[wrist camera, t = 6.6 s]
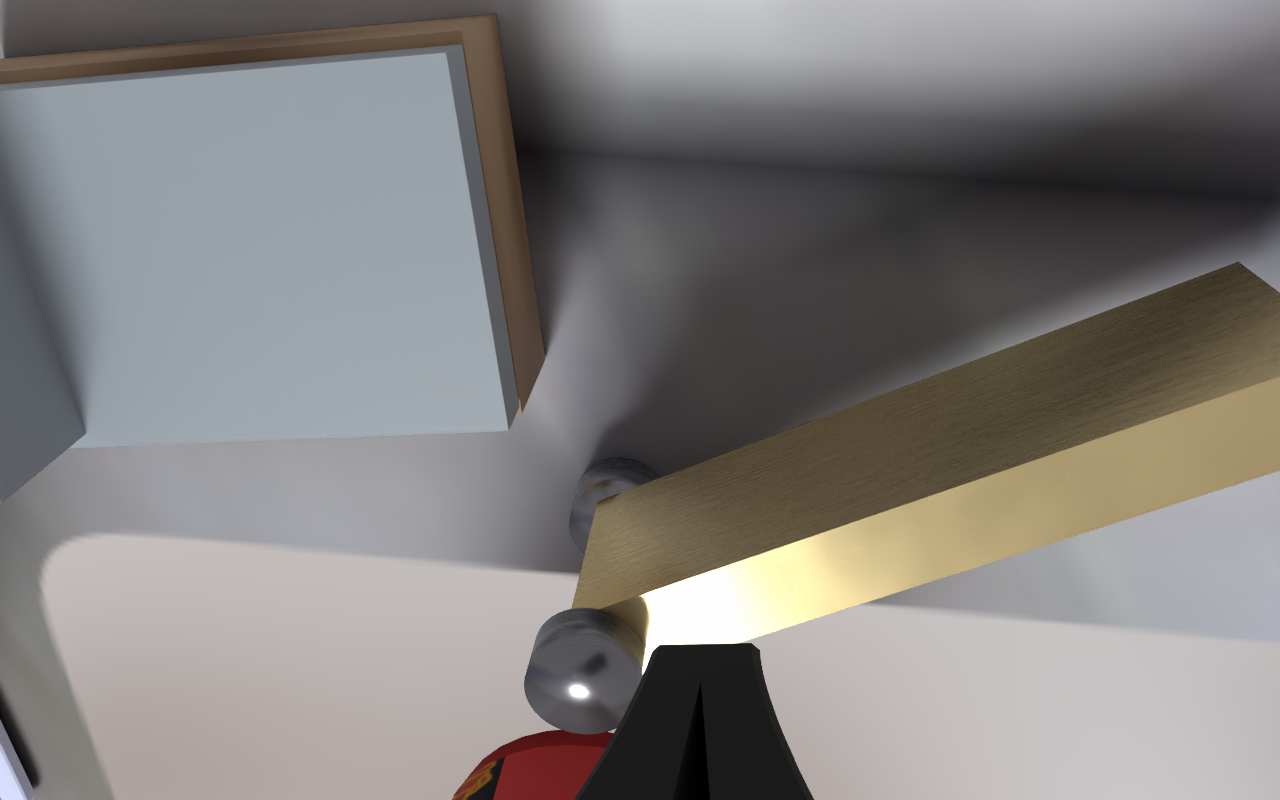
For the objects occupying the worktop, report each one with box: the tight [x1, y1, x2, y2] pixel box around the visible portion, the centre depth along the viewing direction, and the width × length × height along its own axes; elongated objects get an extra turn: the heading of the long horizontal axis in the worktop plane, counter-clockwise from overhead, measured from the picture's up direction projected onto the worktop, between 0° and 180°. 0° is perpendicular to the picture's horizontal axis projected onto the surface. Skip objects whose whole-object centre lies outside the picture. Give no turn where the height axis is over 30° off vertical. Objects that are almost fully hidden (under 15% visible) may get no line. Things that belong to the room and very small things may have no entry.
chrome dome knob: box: [569, 458, 658, 554], centre depth 23 cm, size 2×2×1 cm
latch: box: [524, 262, 1280, 734], centre depth 18 cm, size 2×14×5 cm, turn 116°
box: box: [0, 14, 545, 414], centre depth 20 cm, size 10×7×3 cm
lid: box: [0, 44, 519, 503], centre depth 17 cm, size 10×7×4 cm, turn 95°
